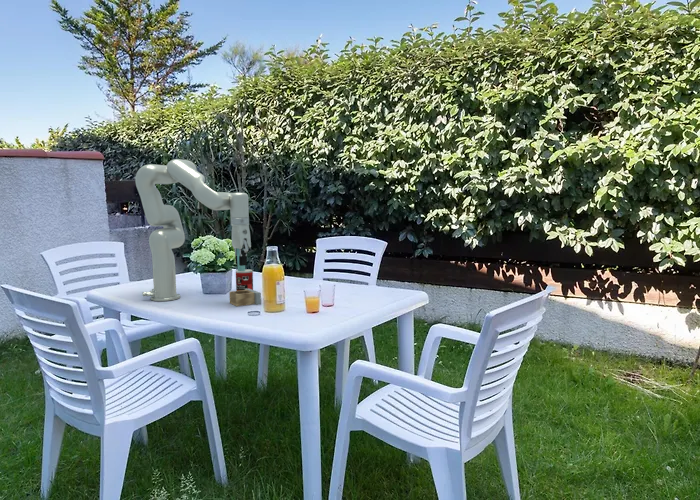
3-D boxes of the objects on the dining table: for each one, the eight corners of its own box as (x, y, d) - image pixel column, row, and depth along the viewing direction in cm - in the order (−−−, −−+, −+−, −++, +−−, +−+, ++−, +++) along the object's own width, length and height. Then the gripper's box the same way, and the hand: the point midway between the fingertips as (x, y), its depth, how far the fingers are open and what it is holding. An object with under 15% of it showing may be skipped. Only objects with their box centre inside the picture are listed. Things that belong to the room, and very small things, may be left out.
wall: (256, 304, 209) (256, 293, 208) (245, 299, 218) (244, 288, 218) (260, 304, 210) (260, 292, 209) (249, 299, 219) (249, 288, 219)
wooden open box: (237, 306, 206) (236, 294, 205) (229, 303, 212) (229, 291, 211) (254, 304, 210) (254, 292, 210) (246, 300, 217) (246, 289, 216)
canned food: (232, 294, 231) (232, 271, 230) (244, 291, 238) (243, 268, 237) (245, 295, 228) (245, 272, 226) (256, 292, 235) (255, 269, 233)
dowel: (239, 271, 207) (238, 248, 206) (236, 270, 210) (235, 247, 209) (246, 270, 209) (245, 247, 208) (243, 269, 212) (242, 246, 211)
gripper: (256, 222, 203) (257, 266, 205) (240, 220, 216) (241, 262, 218) (239, 223, 198) (240, 268, 200) (224, 221, 211) (225, 263, 214)
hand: (241, 264), depth 209 cm, fingers closed on dowel, 3 cm apart
